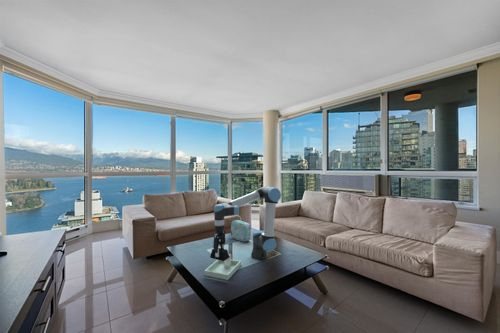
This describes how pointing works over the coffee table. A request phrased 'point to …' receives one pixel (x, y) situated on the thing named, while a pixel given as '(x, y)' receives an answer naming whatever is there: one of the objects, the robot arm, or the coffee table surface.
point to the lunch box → (240, 230)
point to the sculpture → (220, 252)
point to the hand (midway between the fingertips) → (219, 254)
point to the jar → (228, 262)
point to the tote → (222, 269)
